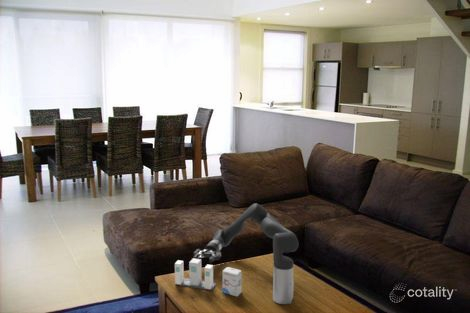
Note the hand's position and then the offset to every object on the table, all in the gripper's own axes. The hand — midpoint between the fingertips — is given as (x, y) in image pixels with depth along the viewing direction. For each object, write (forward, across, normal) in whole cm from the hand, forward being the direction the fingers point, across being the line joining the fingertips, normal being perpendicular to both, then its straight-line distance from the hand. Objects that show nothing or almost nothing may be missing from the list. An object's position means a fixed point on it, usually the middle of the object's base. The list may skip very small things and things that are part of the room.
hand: (202, 260), depth 228 cm
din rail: (+10, 0, +9) cm, 13 cm away
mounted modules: (+12, 0, +8) cm, 14 cm away
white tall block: (+10, 0, +8) cm, 13 cm away
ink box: (+12, +20, +10) cm, 25 cm away
